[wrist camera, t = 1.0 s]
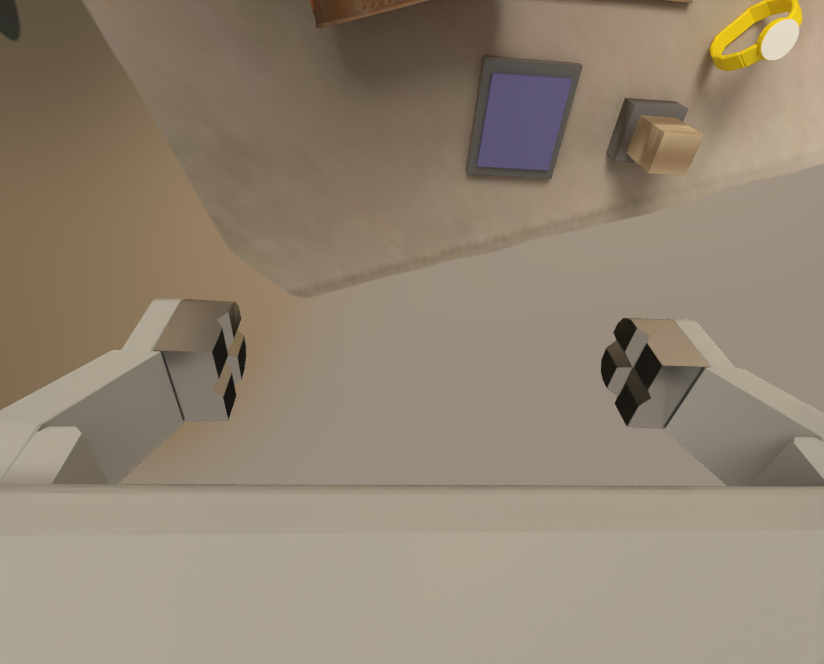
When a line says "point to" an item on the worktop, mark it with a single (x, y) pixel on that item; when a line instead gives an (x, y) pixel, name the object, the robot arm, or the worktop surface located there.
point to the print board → (682, 0)
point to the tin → (353, 9)
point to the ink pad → (520, 116)
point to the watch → (770, 41)
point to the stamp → (654, 136)
